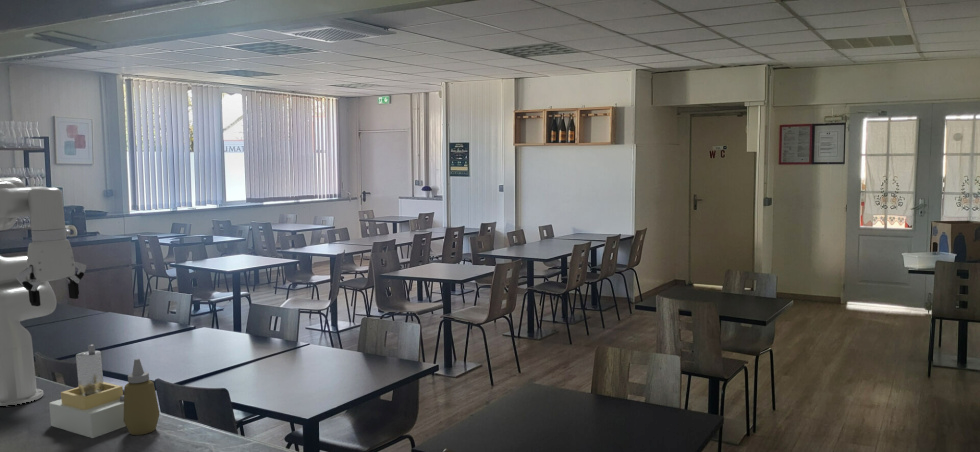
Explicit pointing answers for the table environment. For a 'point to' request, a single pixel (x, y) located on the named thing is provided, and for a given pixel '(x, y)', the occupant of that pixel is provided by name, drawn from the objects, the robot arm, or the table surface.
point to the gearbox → (89, 411)
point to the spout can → (89, 371)
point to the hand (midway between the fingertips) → (55, 302)
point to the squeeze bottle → (140, 402)
